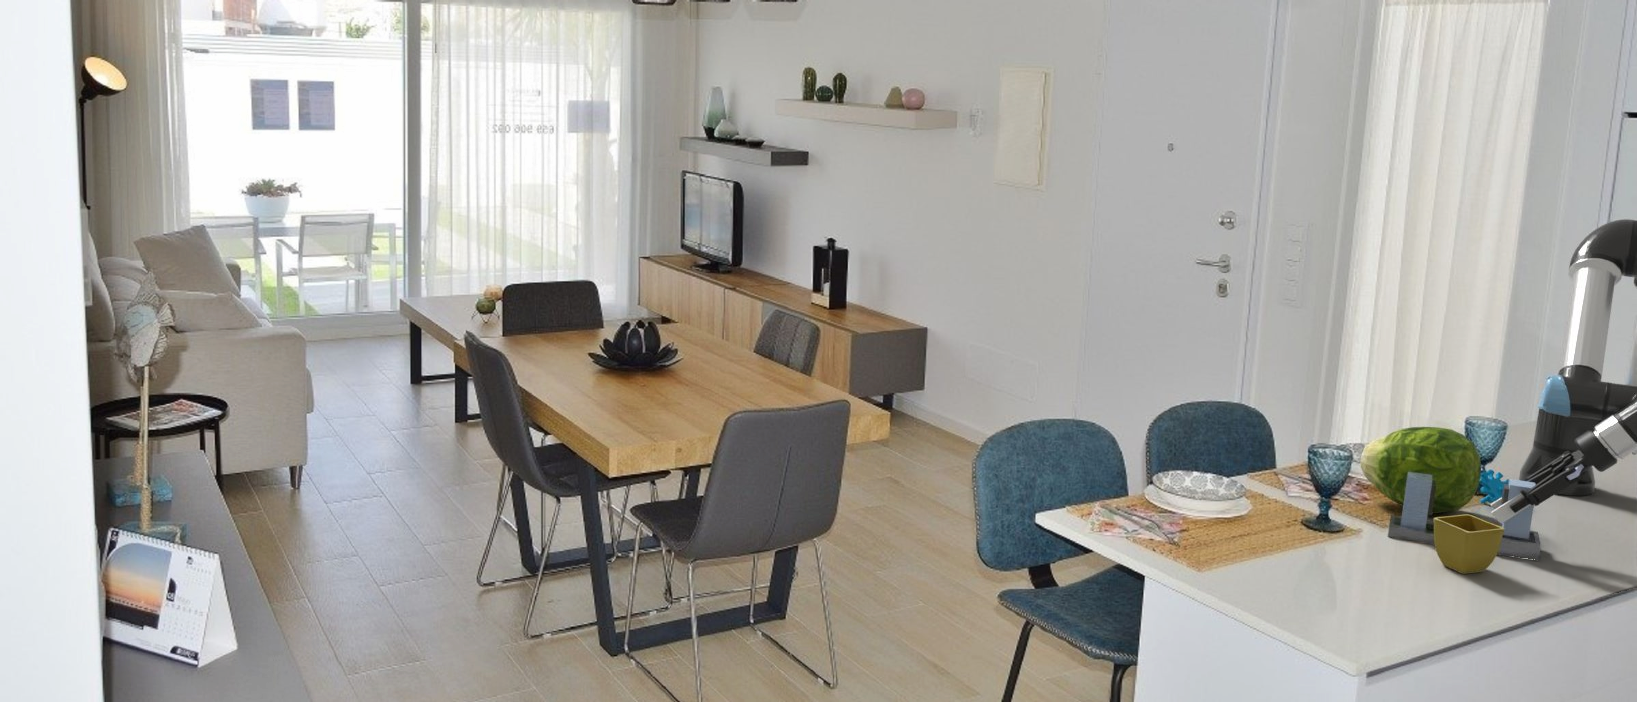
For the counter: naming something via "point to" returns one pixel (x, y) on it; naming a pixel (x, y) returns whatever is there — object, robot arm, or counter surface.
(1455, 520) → the flower pot
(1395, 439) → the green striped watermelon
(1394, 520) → the grey piece
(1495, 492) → the blue splash shape
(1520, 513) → the blue block
